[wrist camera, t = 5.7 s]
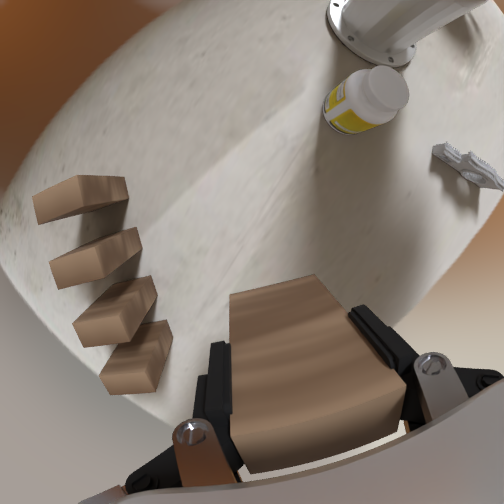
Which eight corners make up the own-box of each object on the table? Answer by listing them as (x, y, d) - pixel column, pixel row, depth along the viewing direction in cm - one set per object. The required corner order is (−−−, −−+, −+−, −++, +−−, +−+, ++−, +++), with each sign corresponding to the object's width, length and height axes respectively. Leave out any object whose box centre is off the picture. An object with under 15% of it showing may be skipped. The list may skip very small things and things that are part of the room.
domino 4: (129, 326, 30) (98, 375, 20) (166, 319, 30) (144, 371, 21) (136, 343, 31) (110, 395, 21) (173, 337, 31) (155, 392, 21)
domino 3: (113, 284, 29) (72, 323, 19) (151, 275, 29) (118, 315, 19) (120, 303, 29) (83, 347, 20) (157, 295, 30) (130, 341, 20)
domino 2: (98, 238, 28) (48, 261, 18) (136, 226, 28) (94, 247, 18) (104, 258, 28) (58, 289, 18) (142, 248, 28) (104, 277, 18)
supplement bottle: (372, 129, 27) (424, 112, 17) (333, 141, 27) (377, 124, 18) (354, 86, 26) (399, 55, 16) (313, 95, 26) (349, 61, 16)
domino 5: (229, 294, 16) (230, 436, 6) (314, 274, 16) (406, 385, 6) (239, 329, 16) (250, 474, 7) (319, 310, 16) (396, 431, 7)
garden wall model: (429, 154, 28) (460, 152, 22) (431, 142, 28) (462, 138, 22) (480, 189, 30) (508, 193, 24) (482, 179, 29) (509, 181, 24)
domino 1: (86, 191, 26) (32, 196, 16) (124, 176, 26) (77, 174, 17) (91, 211, 27) (38, 225, 17) (129, 198, 27) (83, 206, 17)
